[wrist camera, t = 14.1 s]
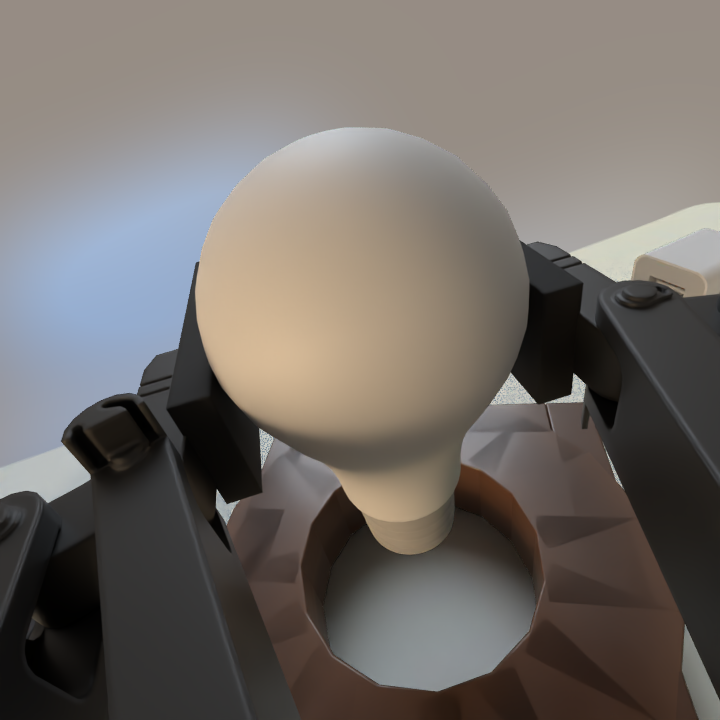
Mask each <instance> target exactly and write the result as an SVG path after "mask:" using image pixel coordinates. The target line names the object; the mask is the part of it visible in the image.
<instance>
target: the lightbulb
mask: <svg viewBox="0 0 720 720" xmlns="http://www.w3.org/2000/svg"><path fill="white" fill-rule="evenodd" d="M195 298H196V314H197V323H198V327H199V331H200V335H201V339H202V343H203V347H204V350H205V353H206V356H207V359H208V362H209V364H210V366H211V368H212V370H213V372H214V374H215V376H216V378H217V380H218V382H219V384H220V385H221V387H222V389H223V390H224V391H225V392H226V393H227V395H228V396H229V397H230V398H231V399H232V400H233V401H234V403H235V404H236V405H237V406H238V407H239V408H240V409H241V410H242V411H243V412H244V413H245V415H246V416H247V417H248V418H249V419H250V420H251V421H252V422H253V423H254V424H255V425H256V426H257V427H259V428H260V429H262V430H263V431H265V432H266V433H268V434H270V435H271V436H273V437H274V438H276V439H278V440H279V441H281V442H283V443H285V444H286V445H288V446H290V447H291V448H293V449H295V450H297V451H298V452H300V453H302V454H303V455H305V456H308V457H310V458H312V459H315V460H317V461H319V462H322V463H324V464H325V465H326V466H328V467H329V468H330V469H331V470H332V471H333V472H334V474H335V475H336V476H337V478H338V479H339V481H340V483H341V485H342V487H343V489H344V491H345V493H346V495H347V496H348V498H349V500H350V501H351V502H352V503H353V504H354V505H355V506H356V507H357V508H358V509H359V510H360V511H362V514H363V516H364V518H365V520H366V523H367V525H368V526H369V528H370V530H371V532H372V534H373V536H374V537H375V539H376V540H377V541H378V542H379V543H380V544H381V545H382V546H384V547H385V548H387V549H388V550H391V551H393V552H395V553H400V554H407V555H414V554H420V553H424V552H426V551H429V550H431V549H433V548H435V547H436V546H438V545H439V544H440V543H441V542H442V541H443V540H444V539H445V538H446V537H447V535H448V534H449V532H450V530H451V528H452V525H453V520H454V513H455V505H454V490H455V488H456V486H457V483H458V481H459V476H460V471H461V447H462V442H463V439H464V437H465V435H466V432H467V431H468V430H469V429H470V428H471V427H472V426H473V424H474V423H475V422H476V421H477V420H478V418H479V417H480V416H481V415H482V413H483V412H484V411H485V410H486V409H487V407H488V406H489V404H490V403H491V401H492V400H493V399H494V397H495V396H496V394H497V393H498V391H499V390H500V388H501V387H502V386H503V384H504V383H505V381H506V380H507V378H508V377H509V374H510V372H511V370H512V368H513V366H514V363H515V361H516V359H517V357H518V353H519V350H520V347H521V344H522V341H523V338H524V334H525V331H526V328H527V320H528V309H529V276H528V271H527V267H526V262H525V257H524V252H523V249H522V246H521V243H520V241H519V238H518V235H517V233H516V230H515V228H514V226H513V223H512V221H511V218H510V216H509V214H508V211H507V209H506V208H505V207H504V205H503V204H502V203H501V201H500V200H499V199H498V198H497V196H496V195H495V193H494V192H493V191H492V190H491V189H490V187H489V186H488V185H487V183H486V182H485V181H483V180H482V179H481V178H480V177H479V176H478V175H477V174H476V173H475V172H474V171H473V170H472V169H471V168H470V167H469V166H467V165H466V164H465V163H464V162H463V161H462V160H461V159H460V158H459V157H458V156H456V155H454V154H452V153H450V152H448V151H446V150H444V149H442V148H440V147H439V146H437V145H435V144H433V143H431V142H429V141H427V140H425V139H422V138H419V137H416V136H412V135H409V134H405V133H402V132H398V131H395V130H392V129H386V128H339V129H333V130H328V131H324V132H320V133H316V134H313V135H310V136H307V137H304V138H301V139H299V140H297V141H295V142H293V143H292V144H290V145H288V146H286V147H284V148H283V149H280V150H279V151H277V152H275V153H273V154H271V155H270V156H268V157H267V158H265V159H263V160H262V161H261V162H260V163H259V164H258V165H257V166H256V167H255V168H254V169H253V170H252V171H251V172H250V173H249V174H247V175H246V176H245V177H244V178H243V179H242V180H241V181H240V182H239V183H238V184H237V185H236V186H235V188H234V189H233V191H232V192H231V194H230V195H229V196H228V198H227V199H226V200H225V202H224V204H223V205H222V206H221V207H220V209H219V210H218V212H217V214H216V215H215V217H214V218H213V221H212V223H211V226H210V229H209V231H208V234H207V237H206V239H205V242H204V245H203V247H202V251H201V257H200V262H199V268H198V273H197V279H196V287H195Z"/></svg>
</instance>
